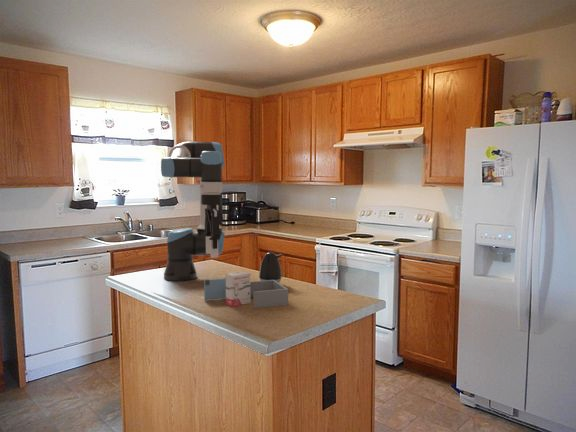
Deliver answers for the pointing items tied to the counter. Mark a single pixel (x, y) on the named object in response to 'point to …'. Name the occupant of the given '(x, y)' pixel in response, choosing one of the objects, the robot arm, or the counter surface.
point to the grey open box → (268, 293)
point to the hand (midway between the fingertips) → (211, 255)
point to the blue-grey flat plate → (215, 289)
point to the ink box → (238, 288)
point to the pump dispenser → (270, 267)
